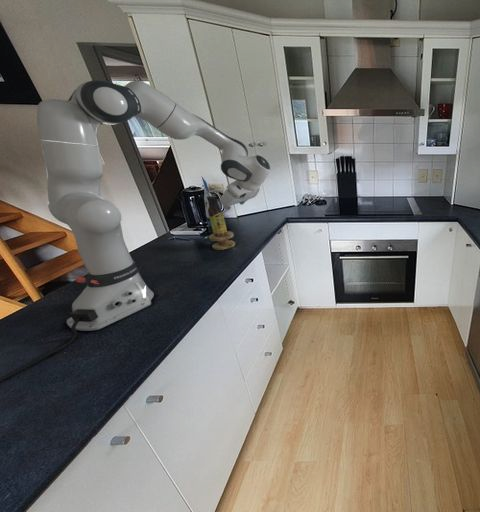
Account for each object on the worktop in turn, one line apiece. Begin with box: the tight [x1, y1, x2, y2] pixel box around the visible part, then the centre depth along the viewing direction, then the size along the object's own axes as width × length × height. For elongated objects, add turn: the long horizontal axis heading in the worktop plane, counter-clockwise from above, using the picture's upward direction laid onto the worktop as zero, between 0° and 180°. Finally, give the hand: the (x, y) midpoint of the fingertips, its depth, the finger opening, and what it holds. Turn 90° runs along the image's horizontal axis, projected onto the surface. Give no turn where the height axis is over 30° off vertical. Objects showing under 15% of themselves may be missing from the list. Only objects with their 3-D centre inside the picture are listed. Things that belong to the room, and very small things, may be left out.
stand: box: [208, 230, 236, 251], centre depth 141 cm, size 11×11×6 cm
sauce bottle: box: [207, 195, 228, 237], centre depth 135 cm, size 7×6×20 cm
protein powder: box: [201, 176, 228, 235], centre depth 156 cm, size 10×24×30 cm, turn 36°
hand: (233, 205), depth 129 cm, fingers open, 8 cm apart
